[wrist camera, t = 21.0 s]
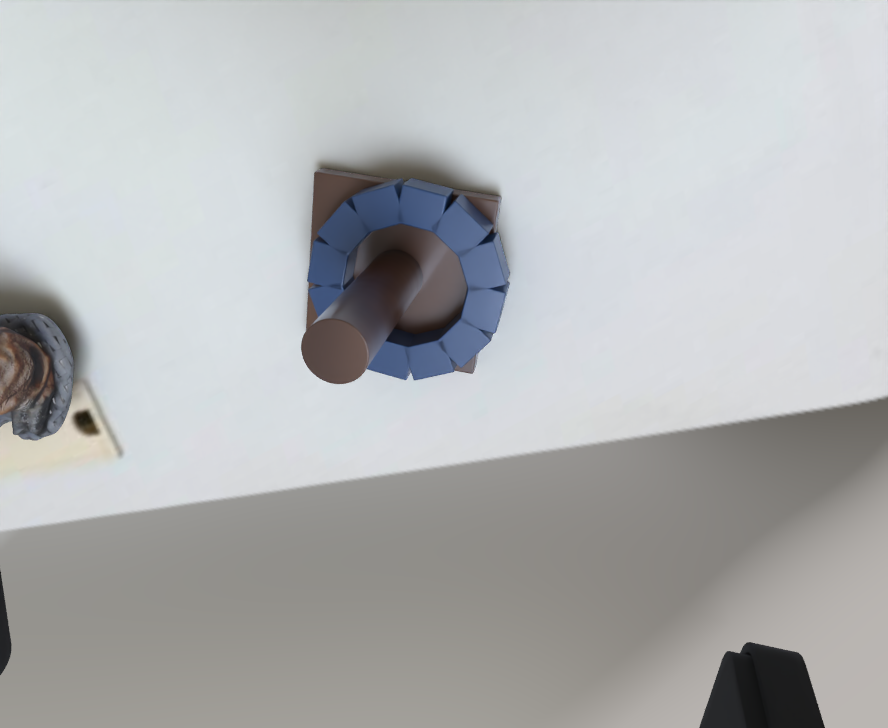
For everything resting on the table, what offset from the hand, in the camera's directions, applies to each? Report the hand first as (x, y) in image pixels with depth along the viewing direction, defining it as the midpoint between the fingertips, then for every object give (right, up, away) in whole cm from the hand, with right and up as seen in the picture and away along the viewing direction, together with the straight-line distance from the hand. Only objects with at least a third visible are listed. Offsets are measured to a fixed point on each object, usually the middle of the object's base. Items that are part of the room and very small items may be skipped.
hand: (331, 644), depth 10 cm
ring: (0, +7, +25) cm, 26 cm away
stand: (-1, +8, +26) cm, 27 cm away
